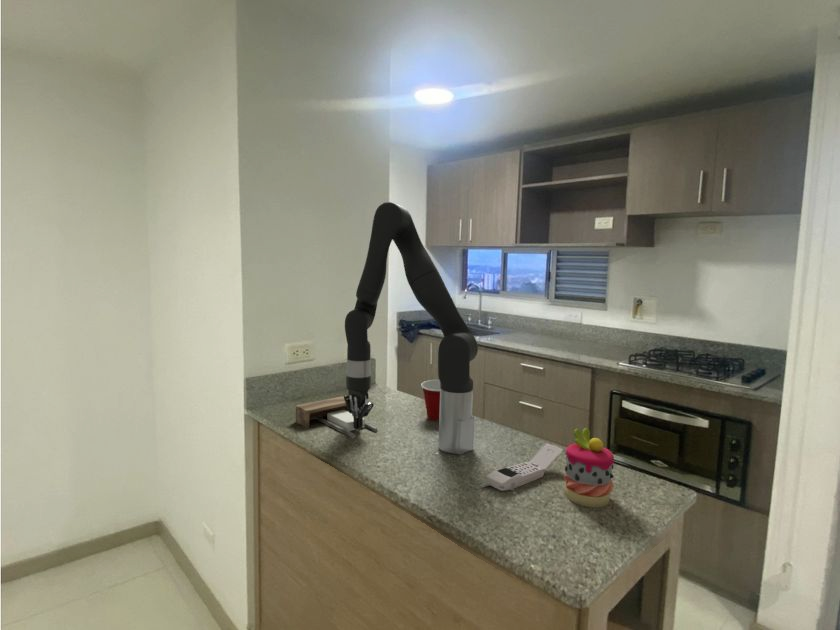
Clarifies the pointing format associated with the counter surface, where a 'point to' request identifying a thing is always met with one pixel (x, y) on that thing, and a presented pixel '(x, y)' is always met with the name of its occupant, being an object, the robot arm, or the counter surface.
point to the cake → (588, 471)
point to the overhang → (324, 413)
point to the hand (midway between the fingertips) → (357, 428)
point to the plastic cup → (432, 398)
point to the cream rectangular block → (343, 419)
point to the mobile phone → (523, 470)
